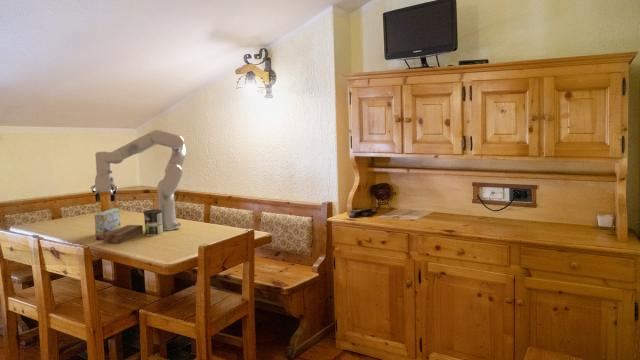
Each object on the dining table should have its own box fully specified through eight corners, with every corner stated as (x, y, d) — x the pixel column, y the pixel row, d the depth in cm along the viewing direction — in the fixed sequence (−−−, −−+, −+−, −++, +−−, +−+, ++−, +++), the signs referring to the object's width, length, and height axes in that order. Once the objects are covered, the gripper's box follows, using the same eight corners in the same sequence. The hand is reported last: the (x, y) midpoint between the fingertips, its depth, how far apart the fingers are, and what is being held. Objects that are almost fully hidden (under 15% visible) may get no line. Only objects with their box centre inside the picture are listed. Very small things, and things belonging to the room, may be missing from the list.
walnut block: (143, 233, 278) (142, 225, 277) (120, 243, 254) (119, 234, 254) (127, 233, 279) (127, 225, 279) (103, 243, 256) (103, 234, 255)
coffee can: (149, 236, 268) (148, 213, 267) (142, 234, 276) (140, 211, 274) (166, 233, 276) (164, 210, 274) (158, 231, 283) (157, 208, 281)
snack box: (105, 240, 263) (103, 214, 261) (95, 240, 263) (93, 214, 261) (121, 231, 284) (119, 207, 282) (112, 231, 284) (110, 208, 282)
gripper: (120, 172, 271) (122, 200, 273) (94, 171, 274) (96, 199, 276) (113, 173, 264) (115, 202, 266) (86, 173, 266) (88, 201, 268)
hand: (105, 201), depth 271 cm, fingers open, 9 cm apart
